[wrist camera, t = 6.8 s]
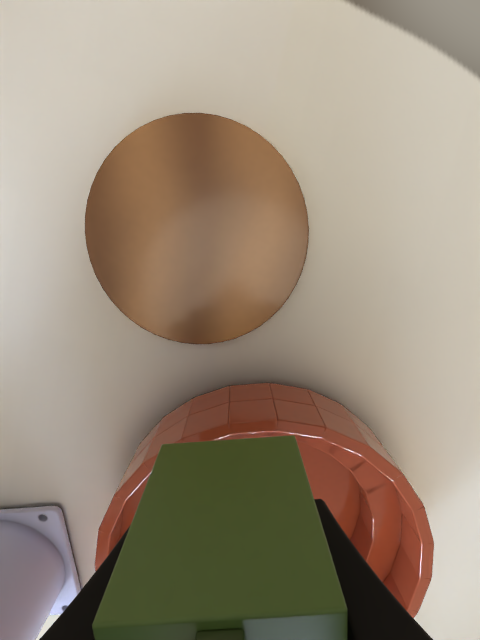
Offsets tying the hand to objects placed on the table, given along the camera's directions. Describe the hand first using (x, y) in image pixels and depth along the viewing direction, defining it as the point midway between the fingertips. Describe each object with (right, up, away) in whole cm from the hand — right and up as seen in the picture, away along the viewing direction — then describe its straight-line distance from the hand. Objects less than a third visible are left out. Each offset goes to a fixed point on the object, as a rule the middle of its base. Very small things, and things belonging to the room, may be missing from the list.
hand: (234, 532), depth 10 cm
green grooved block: (0, 0, +1) cm, 1 cm away
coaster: (-2, +11, +7) cm, 13 cm away
